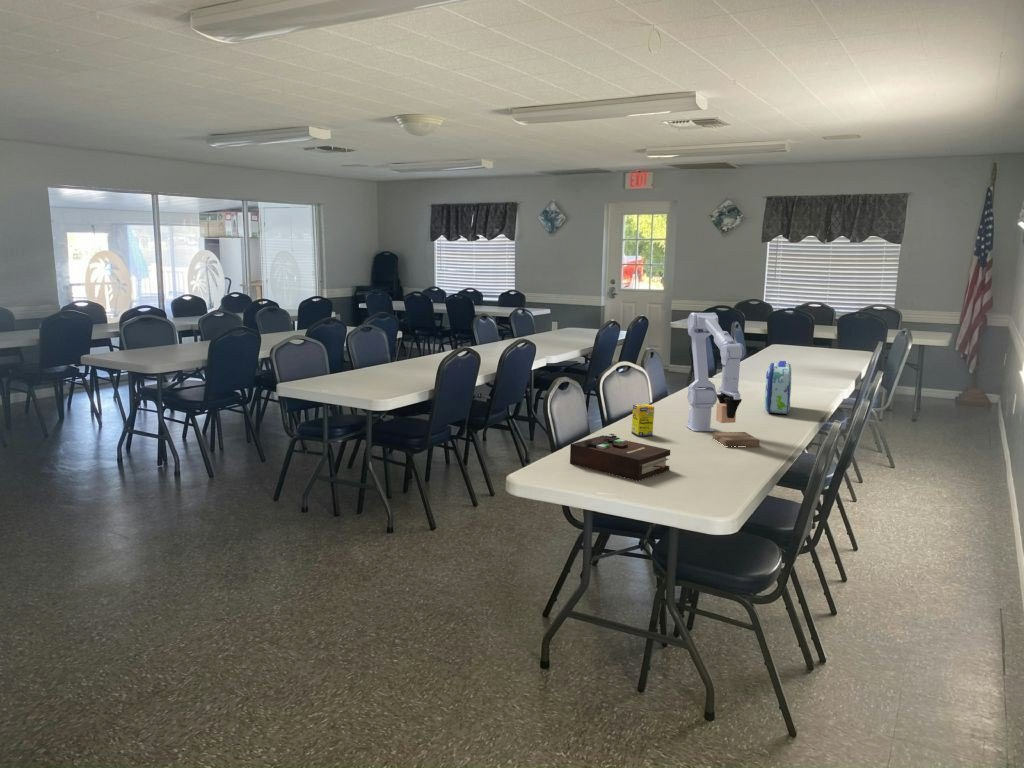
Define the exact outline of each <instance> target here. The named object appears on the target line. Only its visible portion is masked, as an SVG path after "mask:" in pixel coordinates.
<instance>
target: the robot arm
mask: <svg viewBox="0 0 1024 768" xmlns="http://www.w3.org/2000/svg"><path fill="white" fill-rule="evenodd" d="M686 323H687V332H688V336H690V337H691V347H692V359H693V371H694V372H693V373H694V381H693V382H691V383H690V384H689V385H688V388H687V396H686V397H687V402H688V403H689V405H690V407H689V409H688V419H687V424H685V427H686V428H688V429H689V430H691V431H692V432H714V431H715V430H714V429H713V428H712V427H711V422H712V408H714V406H715V405H717V401H718V403H726V406H727V417H728V418H734V416H735V413H736V414H737V410H738V408H739V406H740V404H741V403H742V400H743V399H742V398H741V393H740V391H739V383H740V380H739V378H740V368H741V360H743V358H744V357H745V348H744V345H743V343H740V342H736V341H735V340H734V339H733V337H732V336H731V334H730V333H729V331H725V330H723V329H722V327H721V325H720V324H719V316H718V315H717V313H716V312H690V313H689V315H688V317H687V322H686ZM709 336H713V342H714V344H715V345H716V347H718V349H719V353H720V357H721V361H720V362H721V365H722V369H721V371H722V372H721V383H720V384H721V386H719V387H718V389H717V388H716V385H715V384H714V383H713V382H712V381H711V380H709V378H710V377H709V368H708V357H707V343H706V339H707V337H709ZM719 393H720V394H719Z"/></svg>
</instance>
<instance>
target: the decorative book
mask: <svg viewBox="0 0 1024 768" xmlns="http://www.w3.org/2000/svg"><path fill="white" fill-rule="evenodd" d="M569 448H570V450H569V451H570V453H569V455H570V456H569V464H570V465H574V466H577V467H582V468H585V469H589V470H594V471H598V472H600V473H604V472H606V473H605V474H608V473H610V474H609V475H612V474H613V476H616V475H617V477H620V476H621V477H620V478H624V477H625V478H624V479H628V478H629V480H632V479H633V480H632V481H636V480H637V481H636V482H640V481H642V479H643V480H645V478H646V479H648V477H649V478H652V477H654V476H656V474H657V475H659V474H662V473H665V472H668V471H670V465H667V461H668V460H670V458H667V457H669V456H671V449H667V448H665V447H658V446H656V445H655V446H654V445H649V444H644V443H640V442H636V441H631V440H628V439H627V440H626V439H623V438H622V439H621V437H618V435H616V434H614V433H609V434H608V435H604V434H603V435H598V436H596V437H592V438H588V439H585V440H580V441H576V442H573V443H570V447H569ZM653 475H654V476H653ZM639 480H640V481H639Z"/></svg>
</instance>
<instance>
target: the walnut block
mask: <svg viewBox="0 0 1024 768" xmlns="http://www.w3.org/2000/svg"><path fill="white" fill-rule="evenodd" d="M713 439H715V440H717V441H718V442H720V443H721V444H723V445H724V446H728V447H727V448H739V447H738V446H746V447H745V448H760V439H759V438H757V437H755V436H754V435H752V434H750V433H748V432H746V431H739V432H738V431H720V432H718V431H716V432H714V431H712V440H713ZM715 440H714V441H715ZM718 442H717V443H718ZM720 443H719V444H720ZM721 444H720V445H721ZM723 445H722V446H723ZM724 446H723V447H724ZM731 446H732V447H731ZM734 446H736V447H734Z"/></svg>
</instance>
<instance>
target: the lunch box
mask: <svg viewBox="0 0 1024 768" xmlns="http://www.w3.org/2000/svg"><path fill="white" fill-rule="evenodd" d="M791 366H792V365H791V363H789V362H788V363H787V361H786V360H779V361H778V362H771V363H769V367H768V369H767V371H766V374H765V375H766V376H765V387H764V408H765V410H766V412H767V413H772V414H780V415H781V414H785V415H788V414H789V412H790V409H791V393H792V367H791Z"/></svg>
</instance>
